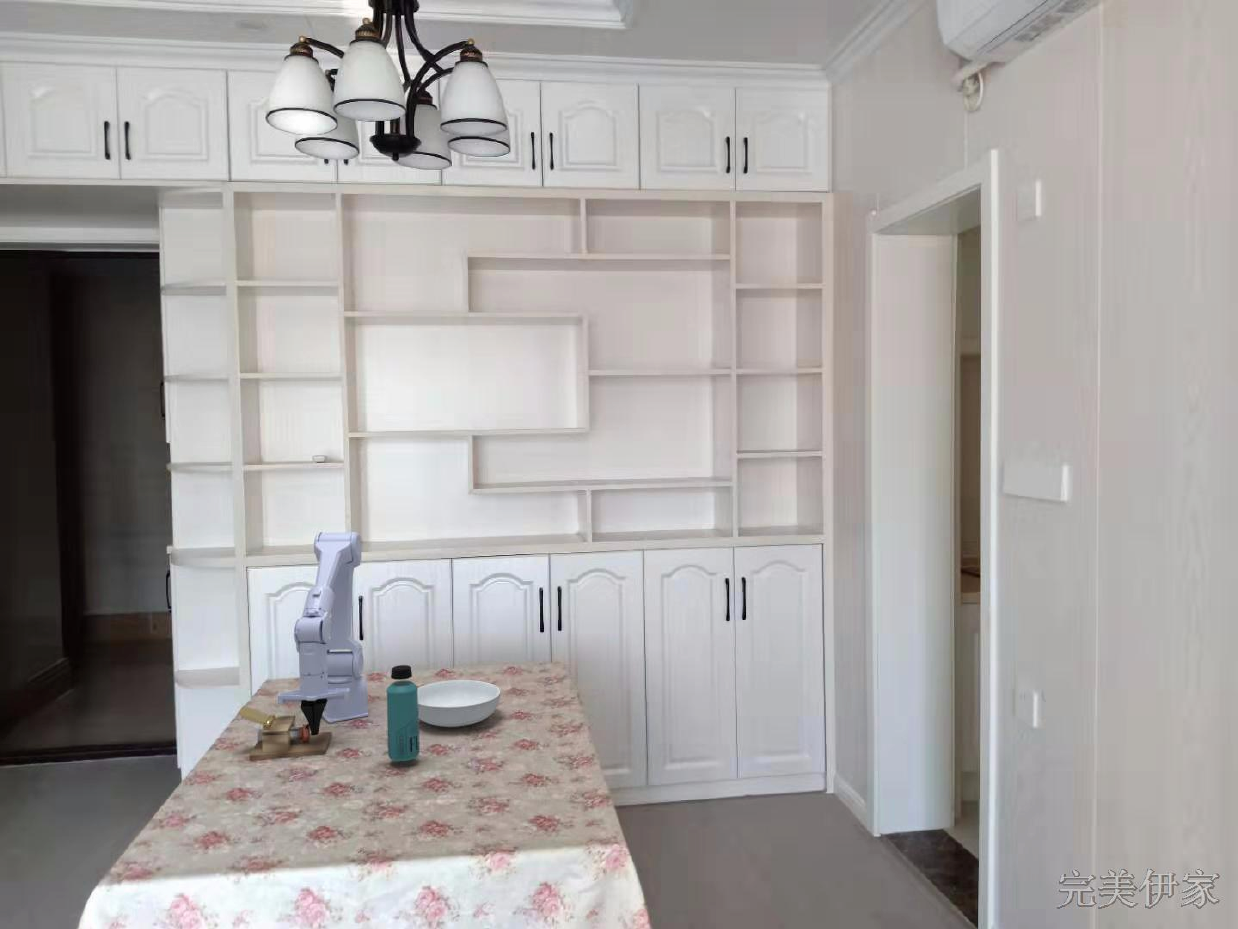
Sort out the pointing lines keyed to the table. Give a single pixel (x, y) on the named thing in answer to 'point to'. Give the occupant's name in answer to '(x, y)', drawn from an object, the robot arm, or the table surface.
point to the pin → (294, 733)
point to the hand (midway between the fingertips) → (315, 733)
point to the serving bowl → (457, 702)
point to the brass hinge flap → (255, 715)
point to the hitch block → (287, 741)
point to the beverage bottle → (402, 716)
